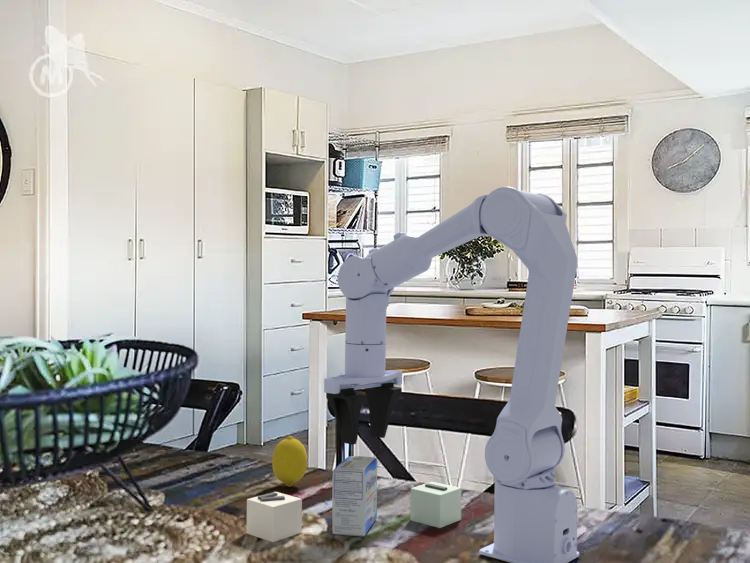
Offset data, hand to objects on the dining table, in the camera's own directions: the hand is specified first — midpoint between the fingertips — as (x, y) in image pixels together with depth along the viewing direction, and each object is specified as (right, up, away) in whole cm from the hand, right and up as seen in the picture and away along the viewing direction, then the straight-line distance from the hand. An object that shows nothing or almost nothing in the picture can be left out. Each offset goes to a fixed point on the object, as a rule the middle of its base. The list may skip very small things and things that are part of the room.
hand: (363, 440), depth 111 cm
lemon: (-12, -10, +14) cm, 21 cm away
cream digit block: (-11, -10, -9) cm, 18 cm away
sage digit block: (+10, -11, -2) cm, 15 cm away
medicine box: (-1, -11, -6) cm, 12 cm away
